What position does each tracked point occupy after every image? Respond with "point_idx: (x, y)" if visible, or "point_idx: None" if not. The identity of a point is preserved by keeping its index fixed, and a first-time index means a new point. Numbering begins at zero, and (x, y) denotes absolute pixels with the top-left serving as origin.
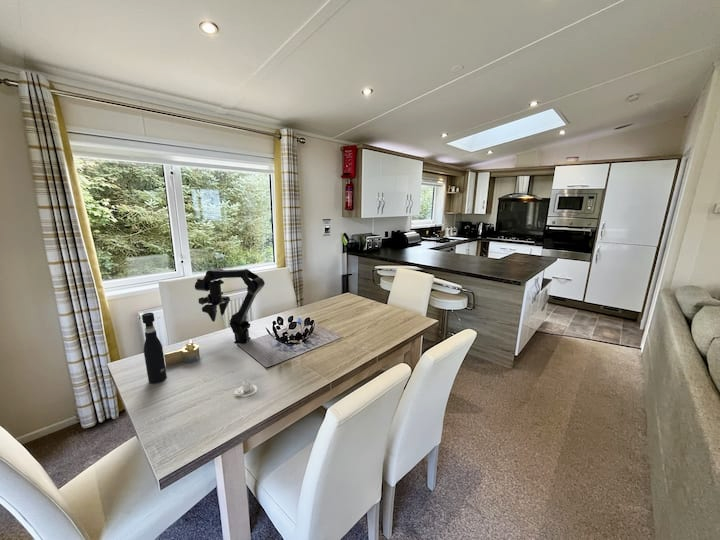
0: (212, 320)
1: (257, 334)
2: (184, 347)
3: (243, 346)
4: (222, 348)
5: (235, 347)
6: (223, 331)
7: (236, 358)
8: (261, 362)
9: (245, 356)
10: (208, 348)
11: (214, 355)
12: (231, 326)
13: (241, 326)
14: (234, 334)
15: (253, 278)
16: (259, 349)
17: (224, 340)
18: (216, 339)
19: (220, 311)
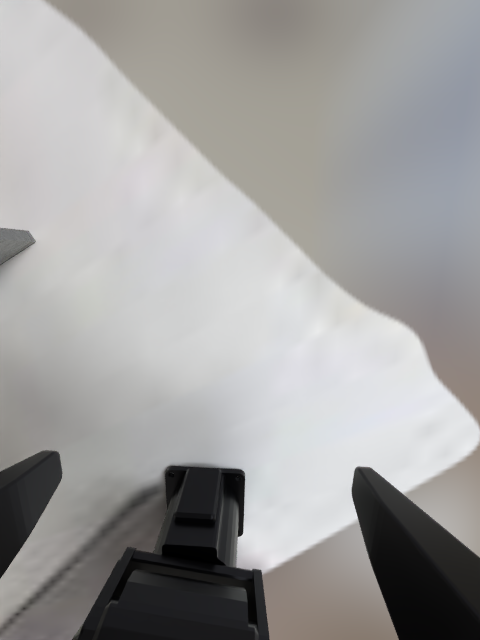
0: (21, 472)
1: (299, 549)
2: None
3: (135, 524)
4: (90, 425)
5: (116, 489)
6: (355, 313)
7: None
8: (6, 634)
9: (36, 564)
10: (72, 340)
11: (3, 418)
12: (88, 618)
13: (244, 580)
14: (178, 505)
15: None
16: None
17: (198, 390)
18: (208, 327)
19: (401, 534)
